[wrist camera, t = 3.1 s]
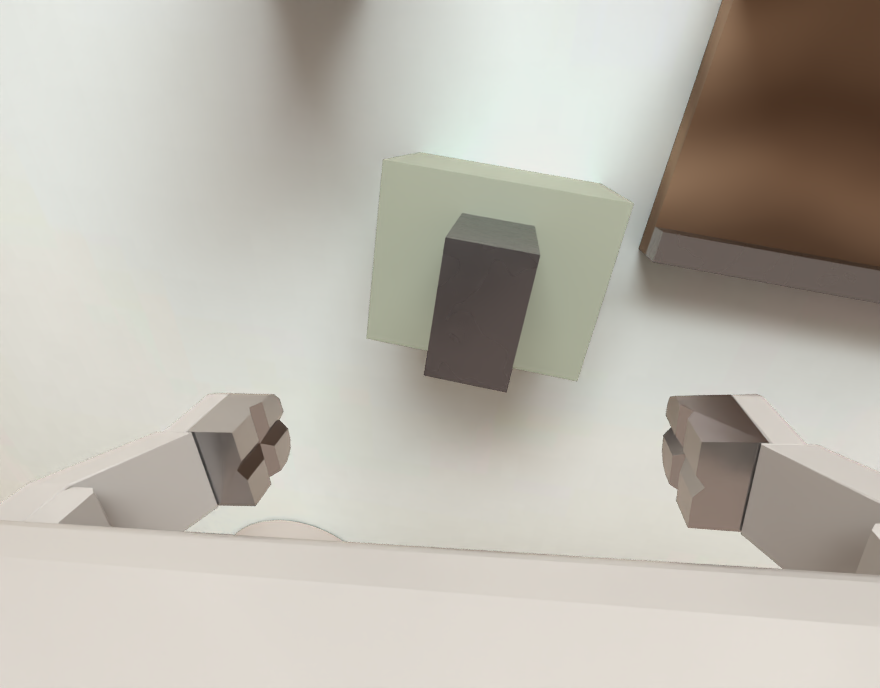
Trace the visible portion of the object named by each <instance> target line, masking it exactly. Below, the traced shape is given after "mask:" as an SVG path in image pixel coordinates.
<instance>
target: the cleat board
mask: <svg viewBox="0 0 880 688" xmlns="http://www.w3.org/2000/svg"><path fill="white" fill-rule="evenodd" d="M639 249H640V250H641V251H642V252H643V253H644V254H645V255H646V256H647V257H648V258H649V259H650V260H651V261H652V262H657V263H662V264H668V265H673V266H678V267H684V268H689V269H695V270H700V271H706V272H711V273H717V274H722V275H727V276H733V277H738V278H744V279H749V280H755V281H760V282H766V283H771V284H776V285H782V286H787V287H793V288H798V289H804V290H809V291H815V292H820V293H825V294H831V295H836V296H842V297H847V298H853V299H858V300H864V301H869V302H874V303H880V0H722V3H721V6H720V9H719V12H718V15H717V18H716V21H715V24H714V27H713V30H712V33H711V36H710V39H709V42H708V45H707V48H706V51H705V53H704V56H703V59H702V62H701V65H700V68H699V71H698V74H697V77H696V80H695V83H694V86H693V89H692V92H691V95H690V98H689V101H688V104H687V107H686V110H685V113H684V116H683V119H682V122H681V125H680V128H679V131H678V134H677V136H676V139H675V142H674V145H673V148H672V151H671V154H670V157H669V160H668V163H667V166H666V169H665V172H664V175H663V178H662V181H661V184H660V187H659V190H658V193H657V196H656V199H655V202H654V205H653V208H652V211H651V214H650V217H649V220H648V222H647V225H646V228H645V231H644V234H643V237H642V240H641V243H640V246H639Z"/></svg>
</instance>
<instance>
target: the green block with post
mask: <svg viewBox="0 0 880 688" xmlns="http://www.w3.org/2000/svg"><path fill="white" fill-rule="evenodd" d="M633 205H634V203H632V202H631V201H629V200H627V199H626V198H624V197H622V196H621V195H619V194H617V193H616V192H614V191H612V190H611V189H609V188H607V187H606V186H604V185H602V184H600V183H594V182H589V181H583V180H577V179H571V178H566V177H560V176H554V175H548V174H542V173H537V172H531V171H525V170H519V169H514V168H508V167H502V166H496V165H490V164H485V163H479V162H473V161H467V160H462V159H456V158H450V157H444V156H438V155H433V154H427V153H421V152H419V153H414V154H408V155H403V156H398V157H393V158H388V159H383V164H382V175H381V186H380V196H379V207H378V218H377V229H376V240H375V251H374V262H373V272H372V283H371V294H370V305H369V316H368V327H367V337H366V339H371V340H376V341H381V342H386V343H391V344H396V345H401V346H406V347H411V348H416V349H420V350H425V351H428V352H427V358H426V365H425V371H424V375H425V376H430V377H435V378H440V379H444V380H449V381H454V382H459V383H464V384H468V385H473V386H478V387H483V388H488V389H492V390H497V391H502V392H507V388H508V384H509V380H510V376H511V372H512V368H514V369H519V370H523V371H528V372H533V373H538V374H543V375H548V376H553V377H558V378H563V379H568V380H573V381H577V380H578V377H579V374H580V371H581V368H582V365H583V362H584V358H585V355H586V352H587V349H588V346H589V343H590V340H591V337H592V333H593V330H594V327H595V324H596V321H597V318H598V315H599V311H600V308H601V305H602V302H603V299H604V296H605V293H606V290H607V286H608V283H609V280H610V277H611V274H612V271H613V268H614V264H615V261H616V258H617V255H618V252H619V249H620V246H621V243H622V239H623V236H624V233H625V230H626V227H627V224H628V221H629V218H630V214H631V211H632V208H633Z"/></svg>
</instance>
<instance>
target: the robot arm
mask: <svg viewBox="0 0 880 688" xmlns="http://www.w3.org/2000/svg"><path fill="white" fill-rule="evenodd" d="M282 414H283V408H282V405H281V402H280V399H279V398H278V397H277V396H276V395H274V394H242V393H234V394H233V393H214V394H208V395H207V396H205V397H204V398H203V399H202V400H201V401H199V402H198V403H197V404H196V405H195V406H193V407H192V408H191V409H190V410H188V411H187V412H186V413H185V414H184V415H182V416H181V417H180V418H179V419H178V420H176V421H175V422H174V423H173V424H172V425H170V426H169V427H168V428H167V429H166V430H164V431H163V432H154V433H152V434H149V435H147V436H144V437H142V438H139V439H137V440H134V441H132V442H129V443H127V444H124V445H122V446H120V447H117V448H115V449H112V450H110V451H107V452H105V453H102V454H100V455H97V456H95V457H92V458H90V459H87V460H85V461H82V462H80V463H77V464H75V465H72V466H70V467H67V468H65V469H62V470H60V471H57V472H55V473H52V474H50V475H47V476H45V477H42V478H40V479H37V480H35V481H32V482H30V483H28V484H26V485H25V486H24V487H22V488H21V489H19V490H18V491H17V492H15V493H14V494H12V495H11V496H10V497H8V498H7V499H5V500H4V501H3V502H1V503H0V688H880V472H878V471H876V470H874V469H871V468H869V467H867V466H865V465H862V464H860V463H858V462H856V461H853V460H851V459H849V458H846V457H844V456H842V455H840V454H837V453H835V452H833V451H831V450H828V449H826V448H824V447H821V446H819V445H812V444H806V443H805V442H804V441H803V439H802V438H801V437H800V436H799V435H798V434H797V433H796V432H795V431H794V430H793V429H792V428H791V426H790V425H789V424H788V423H787V422H786V421H785V420H784V419H783V418H782V417H781V416H780V414H779V413H778V412H777V411H776V410H775V409H774V408H773V407H772V406H771V405H770V404H769V403H768V401H767V400H766V399H765V398H764V397H763V396H760V395H758V394H745V395H694V396H671V397H670V398H669V401H668V403H667V409H666V417H667V419H668V421H669V423H670V426H671V428H670V429H669V430H668V431H667V432H666V433H665V434H664V435H663V444H662V458H663V467H664V471H665V475H666V477H667V480H668V482H669V484H670V485H672V486H673V487H675V488H676V489H677V497H676V502H677V504H678V506H679V509H680V511H681V513H682V516H683V518H684V520H685V523H686V525H687V527H688V528H698V529H711V530H724V531H738V532H741V534H742V535H743V536H744V537H745V538H746V539H748V540H749V541H750V542H751V543H752V544H754V545H755V546H756V547H757V548H758V549H760V550H761V551H762V552H763V553H764V554H766V555H767V556H768V557H769V558H770V559H772V560H773V561H774V562H775V563H776V564H778V565H779V566H780V567H781V568H782V569H774V568H758V567H743V566H727V565H711V564H695V563H679V562H663V561H647V560H631V559H615V558H599V557H583V556H566V555H550V554H534V553H518V552H502V551H486V550H470V549H454V548H439V547H423V546H407V545H391V544H375V543H359V542H344V541H342V540H341V539H339V538H337V537H336V536H334V535H332V534H330V533H328V532H326V531H324V530H322V529H319V528H316V527H314V526H311V525H307V524H304V523H299V522H294V521H285V520H270V521H262V522H258V523H254V524H251V525H249V526H247V527H245V528H243V529H241V530H240V531H238V532H237V533H236V534H235V535H232V534H216V533H200V532H184V531H185V530H186V529H188V528H189V527H191V526H192V525H194V524H195V523H196V522H198V521H199V520H201V519H202V518H204V517H205V516H206V515H208V514H209V513H211V512H212V511H213V510H215V509H216V508H218V505H228V506H256V505H257V503H258V502H259V501H260V499H261V498H262V496H263V495H264V494H265V492H266V491H267V489H268V488H269V487H270V485H271V481H270V476H272V475H274V474H275V473H277V472H279V471H281V470H282V468H283V467H284V465H285V464H286V462H287V460H288V456H289V453H290V449H291V447H290V435H289V431H288V428H287V427H286V426H285V425H284V424H283V423H282V422H281V421H280V418H281V416H282Z"/></svg>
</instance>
